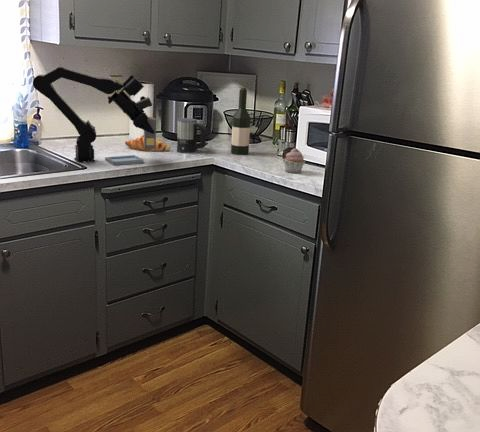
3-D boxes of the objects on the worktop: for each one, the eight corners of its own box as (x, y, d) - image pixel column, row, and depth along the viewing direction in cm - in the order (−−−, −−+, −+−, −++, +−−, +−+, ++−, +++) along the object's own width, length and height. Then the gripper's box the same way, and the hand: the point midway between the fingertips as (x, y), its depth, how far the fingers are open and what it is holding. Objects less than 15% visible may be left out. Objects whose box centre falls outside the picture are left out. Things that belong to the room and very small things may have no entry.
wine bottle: (246, 155, 260) (250, 89, 251) (228, 154, 261) (232, 87, 252) (250, 152, 268) (254, 87, 259) (232, 150, 269) (236, 86, 260)
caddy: (144, 148, 233) (145, 118, 230) (143, 146, 238) (143, 116, 234) (155, 149, 234) (156, 118, 231) (154, 146, 239) (154, 116, 235)
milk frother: (175, 152, 257) (175, 120, 253) (178, 146, 272) (179, 115, 268) (206, 154, 258) (207, 122, 253) (208, 148, 273) (209, 117, 268)
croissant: (171, 157, 264) (173, 141, 265) (168, 151, 254) (170, 134, 255) (126, 153, 264) (128, 137, 266) (121, 146, 255) (123, 130, 256)
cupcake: (291, 175, 228) (293, 150, 225) (277, 170, 235) (279, 146, 232) (309, 173, 233) (311, 149, 230) (294, 168, 240) (296, 145, 237)
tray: (114, 165, 226) (113, 161, 226) (105, 160, 233) (105, 157, 233) (143, 162, 233) (143, 159, 233) (134, 158, 240) (134, 155, 240)
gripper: (142, 92, 220) (170, 121, 226) (138, 88, 237) (164, 115, 243) (121, 112, 220) (149, 141, 226) (119, 106, 237) (145, 133, 243)
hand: (153, 131), depth 235 cm, fingers closed on caddy, 5 cm apart
